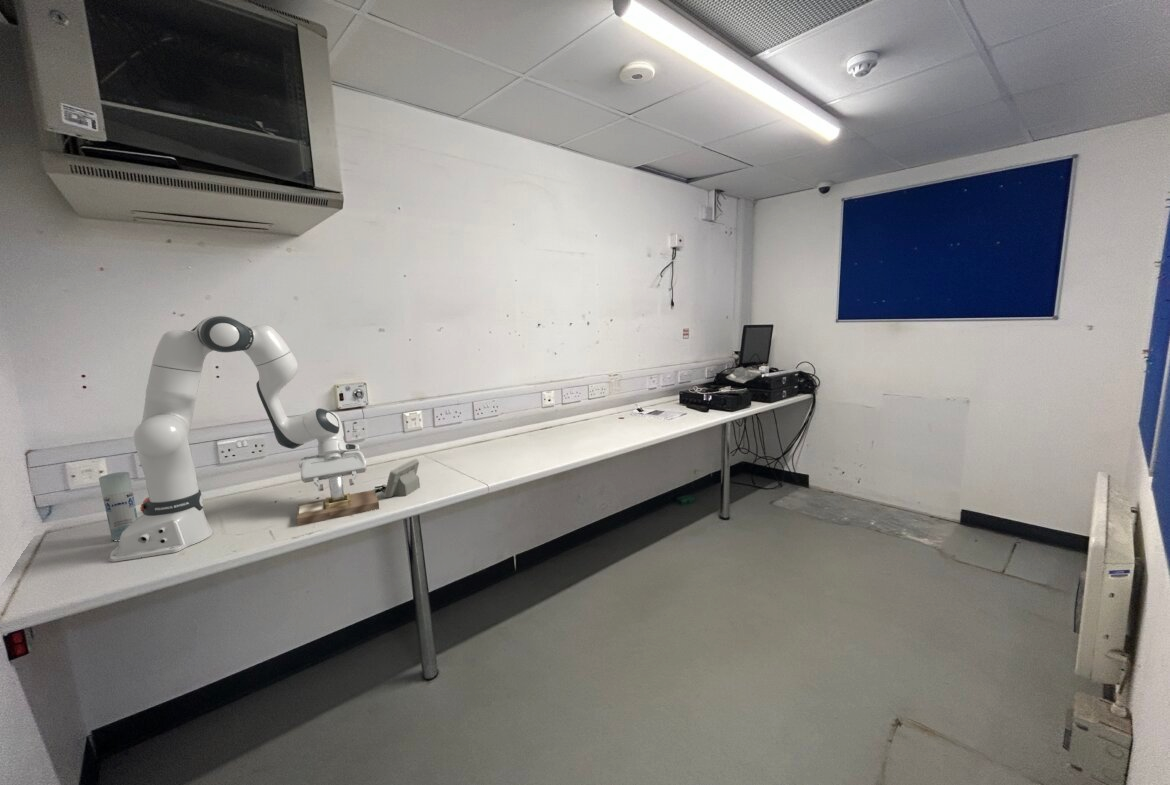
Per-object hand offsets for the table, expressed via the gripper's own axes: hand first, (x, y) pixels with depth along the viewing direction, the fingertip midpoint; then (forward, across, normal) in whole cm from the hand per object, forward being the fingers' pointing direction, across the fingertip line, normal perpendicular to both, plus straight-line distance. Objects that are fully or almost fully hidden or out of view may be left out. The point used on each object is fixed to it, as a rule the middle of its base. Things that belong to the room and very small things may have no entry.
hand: (336, 487), depth 156 cm
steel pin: (+6, 0, +5) cm, 8 cm away
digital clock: (+2, +22, +10) cm, 24 cm away
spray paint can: (-5, -58, +16) cm, 60 cm away
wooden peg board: (+6, 0, +5) cm, 8 cm away
